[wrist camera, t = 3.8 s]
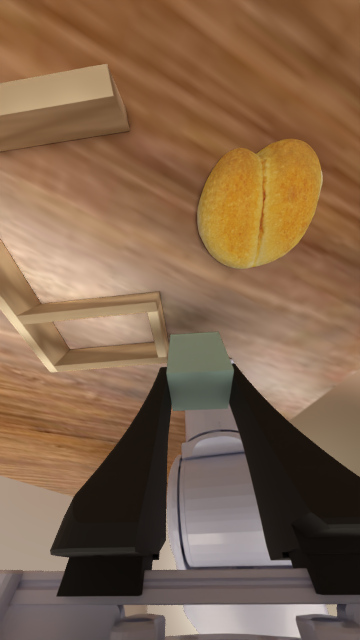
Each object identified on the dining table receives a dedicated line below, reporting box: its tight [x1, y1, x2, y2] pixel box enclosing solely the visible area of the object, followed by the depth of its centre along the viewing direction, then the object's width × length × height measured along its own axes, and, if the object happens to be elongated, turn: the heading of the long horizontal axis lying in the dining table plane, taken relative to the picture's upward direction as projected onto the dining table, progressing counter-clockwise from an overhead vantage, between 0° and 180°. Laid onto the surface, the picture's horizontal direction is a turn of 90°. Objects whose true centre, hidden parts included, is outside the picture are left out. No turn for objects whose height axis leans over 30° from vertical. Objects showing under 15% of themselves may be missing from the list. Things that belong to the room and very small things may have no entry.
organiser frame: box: [0, 64, 169, 372], centre depth 14 cm, size 21×15×3 cm
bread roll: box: [197, 139, 323, 269], centre depth 12 cm, size 8×9×4 cm
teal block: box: [166, 332, 234, 411], centre depth 11 cm, size 4×4×4 cm
